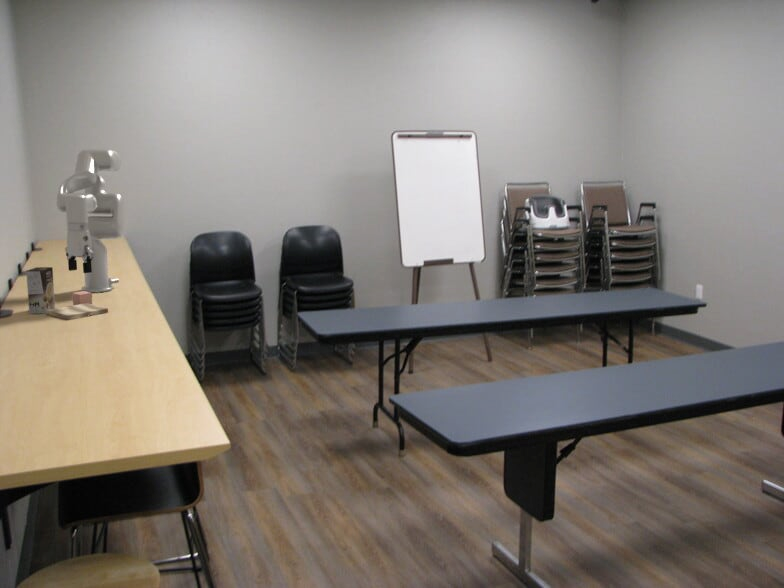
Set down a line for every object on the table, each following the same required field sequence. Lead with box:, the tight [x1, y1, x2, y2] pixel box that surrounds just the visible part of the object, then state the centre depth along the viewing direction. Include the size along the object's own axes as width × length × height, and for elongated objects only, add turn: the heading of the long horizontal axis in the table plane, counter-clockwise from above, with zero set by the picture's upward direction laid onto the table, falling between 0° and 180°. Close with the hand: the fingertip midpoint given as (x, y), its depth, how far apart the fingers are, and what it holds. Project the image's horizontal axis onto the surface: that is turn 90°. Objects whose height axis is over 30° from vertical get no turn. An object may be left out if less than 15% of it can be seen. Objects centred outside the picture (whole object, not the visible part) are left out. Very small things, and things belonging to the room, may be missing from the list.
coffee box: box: [25, 266, 56, 314], centre depth 275 cm, size 9×6×16 cm
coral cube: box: [71, 290, 93, 306], centre depth 287 cm, size 5×5×5 cm
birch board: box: [46, 303, 109, 321], centre depth 274 cm, size 16×14×2 cm
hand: (80, 271), depth 284 cm, fingers open, 9 cm apart
